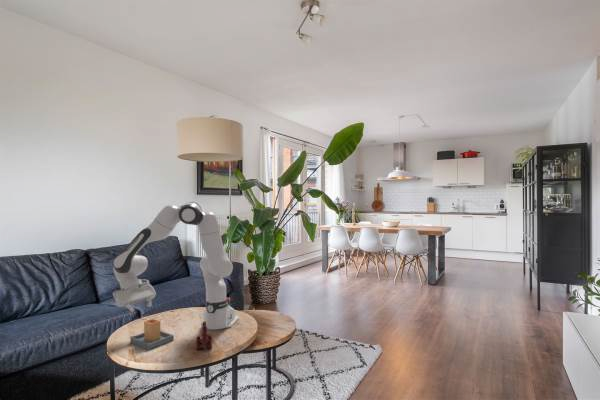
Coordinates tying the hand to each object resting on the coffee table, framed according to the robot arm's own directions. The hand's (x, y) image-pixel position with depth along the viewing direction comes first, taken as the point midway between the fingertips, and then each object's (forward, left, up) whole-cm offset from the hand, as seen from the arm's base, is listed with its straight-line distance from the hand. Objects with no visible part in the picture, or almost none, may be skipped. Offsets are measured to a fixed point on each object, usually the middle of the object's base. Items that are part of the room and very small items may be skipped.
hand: (141, 308), depth 178 cm
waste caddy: (+2, +8, -14) cm, 16 cm away
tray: (+2, +8, -15) cm, 17 cm away
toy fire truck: (-1, +37, -15) cm, 40 cm away
